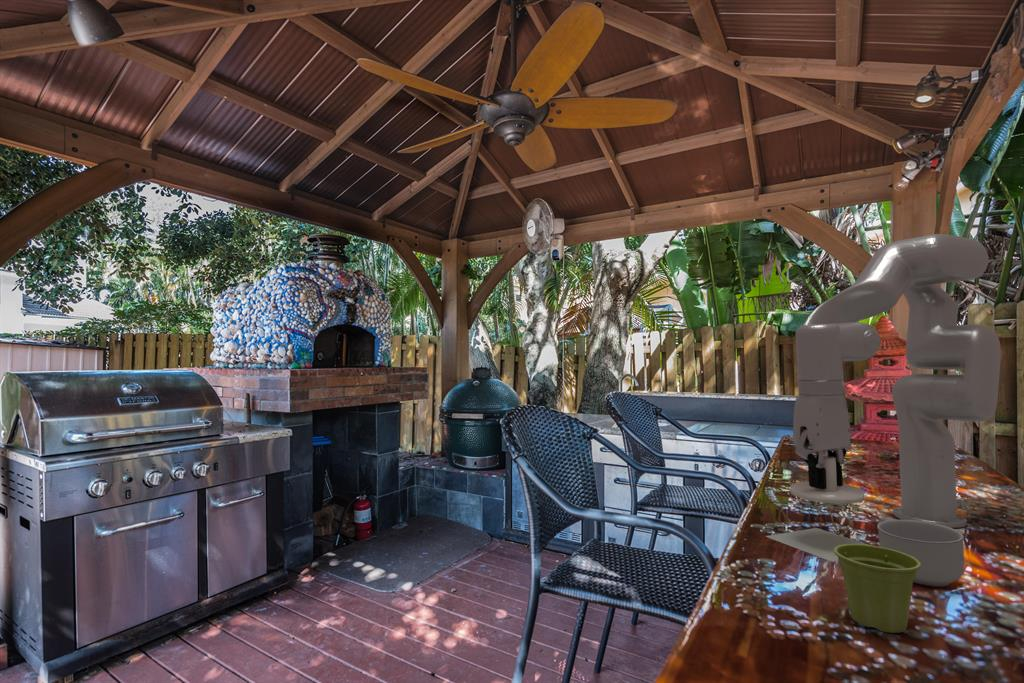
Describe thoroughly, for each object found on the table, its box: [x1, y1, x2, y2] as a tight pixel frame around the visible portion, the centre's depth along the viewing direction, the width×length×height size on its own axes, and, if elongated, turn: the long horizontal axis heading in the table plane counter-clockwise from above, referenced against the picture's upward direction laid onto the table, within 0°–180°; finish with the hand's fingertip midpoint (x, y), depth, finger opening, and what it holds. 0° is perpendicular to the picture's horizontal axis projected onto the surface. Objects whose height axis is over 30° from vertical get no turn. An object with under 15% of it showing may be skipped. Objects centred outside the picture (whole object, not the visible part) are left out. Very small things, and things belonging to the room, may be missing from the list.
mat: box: [765, 527, 869, 563], centre depth 97 cm, size 14×14×1 cm
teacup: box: [876, 516, 965, 587], centre depth 84 cm, size 14×11×8 cm
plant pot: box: [834, 544, 921, 634], centre depth 69 cm, size 9×9×9 cm
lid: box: [789, 454, 866, 505], centre depth 98 cm, size 12×12×7 cm
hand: (825, 485), depth 98 cm, fingers closed on lid, 3 cm apart
